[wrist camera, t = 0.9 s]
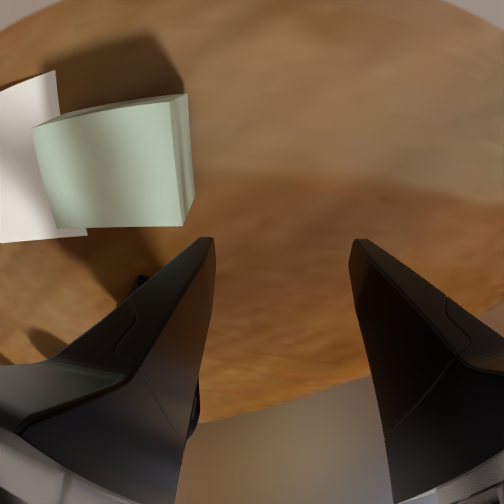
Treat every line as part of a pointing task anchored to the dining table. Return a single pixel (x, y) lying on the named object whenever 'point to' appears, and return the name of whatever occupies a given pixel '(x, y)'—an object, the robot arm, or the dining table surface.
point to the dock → (26, 162)
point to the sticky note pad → (118, 164)
